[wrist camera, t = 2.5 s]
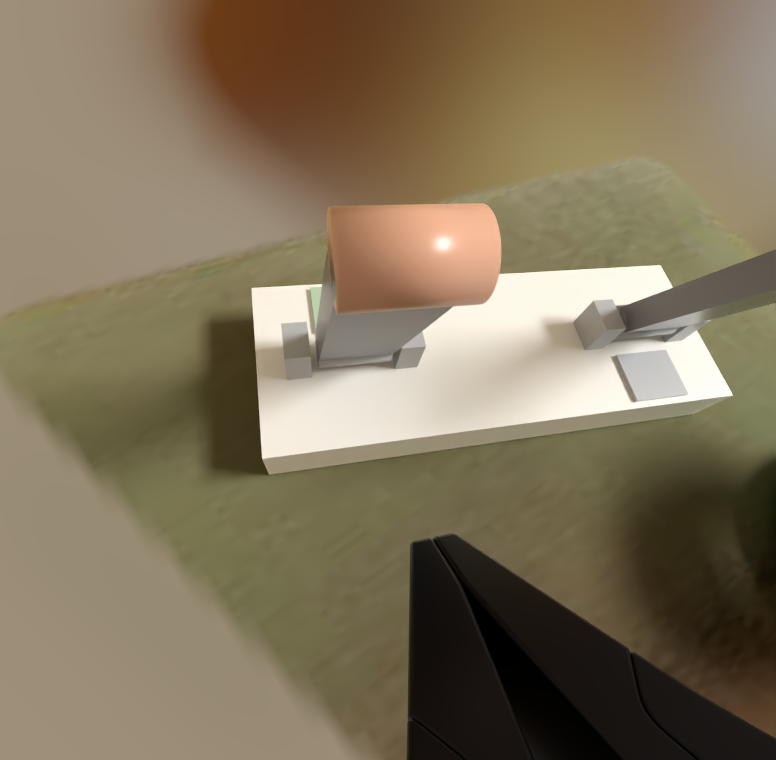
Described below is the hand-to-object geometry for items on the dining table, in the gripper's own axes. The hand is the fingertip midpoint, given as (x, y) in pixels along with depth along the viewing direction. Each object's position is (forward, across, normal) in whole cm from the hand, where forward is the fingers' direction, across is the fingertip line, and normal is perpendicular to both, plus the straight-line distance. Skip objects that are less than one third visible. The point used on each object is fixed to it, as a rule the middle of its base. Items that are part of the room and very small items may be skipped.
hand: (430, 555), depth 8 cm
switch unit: (+14, -7, +1) cm, 15 cm away
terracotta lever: (+11, 0, -1) cm, 11 cm away
